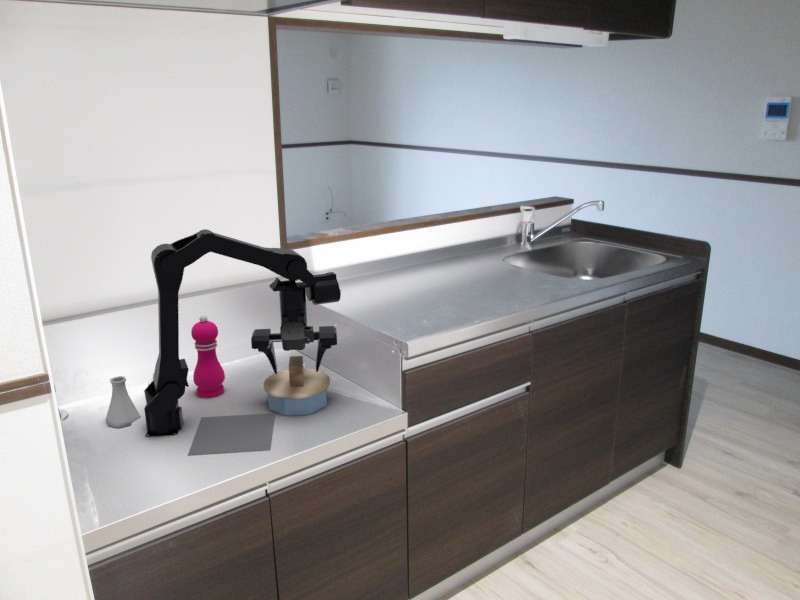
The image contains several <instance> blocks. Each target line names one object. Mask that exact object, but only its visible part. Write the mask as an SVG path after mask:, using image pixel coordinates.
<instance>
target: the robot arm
mask: <svg viewBox="0 0 800 600" xmlns="http://www.w3.org/2000/svg"><path fill="white" fill-rule="evenodd" d="M209 253H214V254H216V255H219V256H220V255H221V256H224V257H228V258H232V259H234V260H238V261H242V262H245V263H248V264H253V265H256V266H260V267H262V268H265V269H267V270H268V271H271V272H272V273H274V274H276V275H278V276H280V277H282V278H284V279H286V280H281V279H279V277H275V279H274V281H273V282H271V283H270V284H269V285H268V286H269V288H270V290H272V291H273V292H279V295H278V297H279V308H280V309H279V310H280V332H277V333H275V332H274V333H272V330H271V328H257V329H254V330H253V332H252V334H251V338H250V340H251V341H250V342H251V343H250V344H251V345H250V346H251V349H252V350H257V351H258V352H259V353H263V354H264V355H265V356H266V358H267V359H268V361H269V363H270V365H271V368H272V370H273V372H274V373H275V374H277V372H278V364H277V357H276V351H275V346H274V343H281V347H282V350H283V351H285V352H289V351H294V350H295V351H304V349H305V348H306V344H309V345H310V343H315V342H314V341H317V349H316V358H315V370H316V372H318V370H319V369H320V367H321V364H322V360H323V359H322V358H323V357H324V355H325V352H326V351H327V350H329V349H332V346H337V345H338V332H337V328H336V327H335V326H334V325H326V326H325V325H324V326H318V331H314V326H313V325H308V315H307V312H308V310H307V301H308V302H311V303H312V305H314V306H317V305H324V304H333V303H338V302H340V300H341V295H342V294H341V293H342V291H341V288H340V285H339V284H340V283H339V281H338V279H337V274H336V273H335V272H333V271H329V272H326V273H321V274H320V273H319V274H313V273H311V271H310V270H309V269H308V263H307V261H306V259H305V257H303V256H302V255H301V254H299V253H298V252H297V251H295V250H293V249H289V248H279V247H266V246H265V247H264V246H260V245H258V244H254V243H251V242H246V241H243V240H240V239H236V238H232V237H231V236H226V235H223V234H219V233H215V232H213V231H212V230H210V229H201V230H199V231H198V232H195V233H193V234H191V235H189V236H185V237H183V238H180V239H178V240H176V241H174V242H171V243H160V244H159V245H157V246H156V247H155V248H154V249H152V251H151V256H150V259H151V263H152V269H153V272H154V273H153V274H154V278H155V282H156V287H157V299H158V302H157V307H158V314H157V315H158V356H157V359H156V362H155V365H154V366H155V367H154V372H153V373H154V377H153V376H152V377H153V381H152V382H151V383H150V384H149V386H148V385H147V387H146V388H145V389H144V390H143V391H144V397H145V402H146V404H145V406H144V416H145V423H146V433H145V438H152V437H167V436H170V437H171V436H177V435H178V434H179V432H180V430H182V428H183V425H184V417H183V416H184V415H183V409H182V406H180V405H179V400H180V399H181V398H182V397H183V396H184V395H185V393H186V387H187V388H189V387H190V385H189V382H188V375H189V366H188V363H187V360H186V359H185V358H180V352H179V349H180V345H179V343H180V342H179V341H180V340H179V337H180V336H179V335H180V334H179V332H180V331H179V330H180V329H179V327H180V326H179V292H180V288H181V284H182V283H183V282H182V281H183V279H184V278H183V277H184V272H185V268H186V267H189V266H190V265H192V264H194V263H195V262H197V261H198V260H199V259H201V258H202V257H203V256H205V255H206V254H209ZM298 280H299V282H297V281H298ZM319 371H320V370H319ZM274 373H273V374H274Z"/></svg>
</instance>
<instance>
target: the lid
mask: <svg viewBox="0 0 800 600" xmlns="http://www.w3.org/2000/svg"><path fill="white" fill-rule="evenodd" d="M303 356H304V355H295V356H294V355H293V356H289V361H288V369H283V370H281V371H277V374H275V373H273V374H271V375H269V376H267V377H266V378H265V379H264V381H263V389H264V390H263V391H265V393H267V395H268V394H269V395H271V396H274V397H277V398H283V399H301V398H308V397H312V396H315V395H318V394H320V393H322V392H324V391H325V390H326V391H327V390H328V389H329V387H330V385H331V379H330V376H329V375H328V373H326V372H324V371H321V370H318V372H316V368H315V369H314V368H306V367H305V368H304V357H303Z"/></svg>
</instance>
